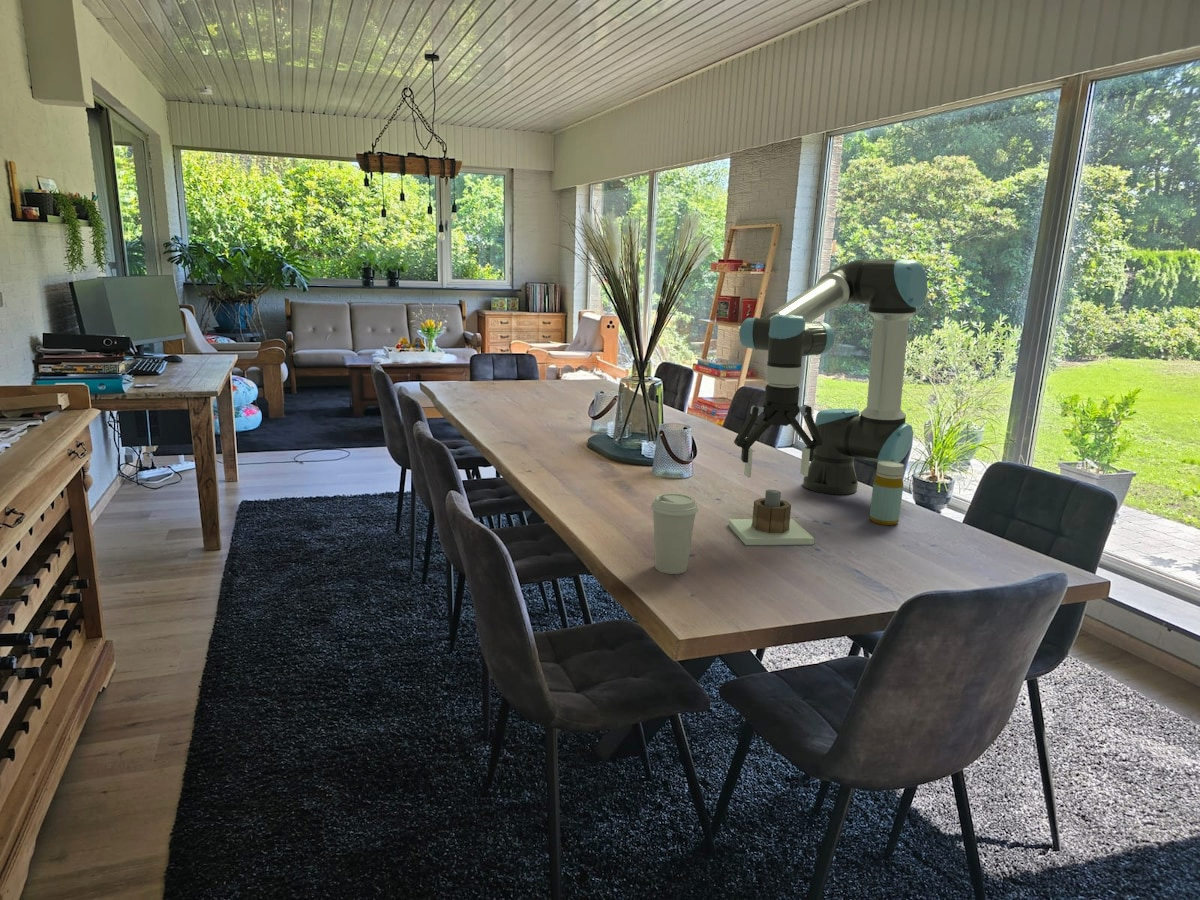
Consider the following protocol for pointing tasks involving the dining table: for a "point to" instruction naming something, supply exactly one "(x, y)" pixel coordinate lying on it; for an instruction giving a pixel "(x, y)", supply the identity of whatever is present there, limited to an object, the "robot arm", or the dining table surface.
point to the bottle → (887, 493)
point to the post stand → (755, 537)
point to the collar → (771, 517)
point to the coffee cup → (673, 531)
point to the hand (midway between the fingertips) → (775, 475)
